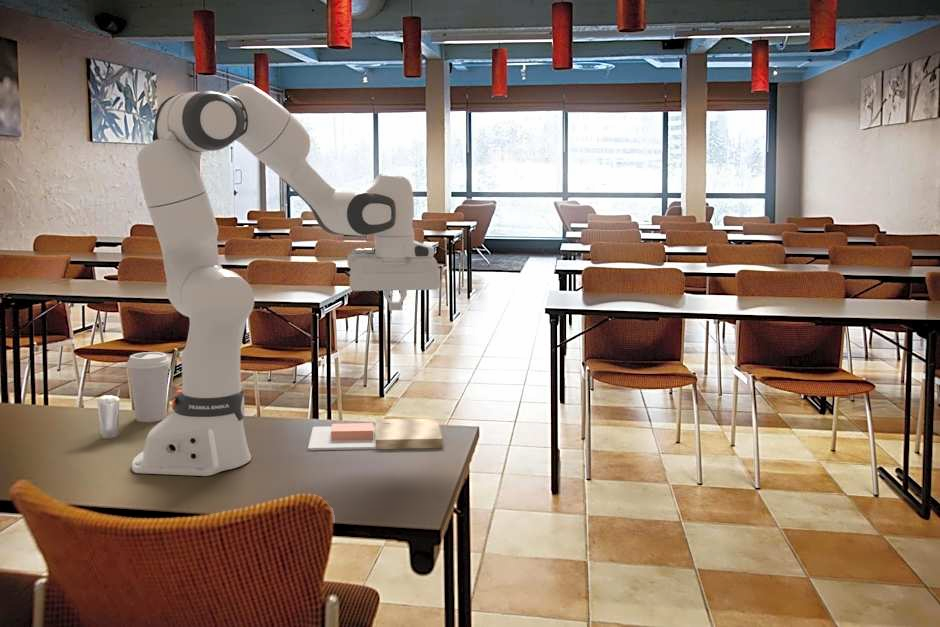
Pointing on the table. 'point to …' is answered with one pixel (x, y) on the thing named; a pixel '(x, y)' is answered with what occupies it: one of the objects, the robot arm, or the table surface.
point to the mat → (337, 441)
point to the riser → (408, 433)
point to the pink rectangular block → (352, 431)
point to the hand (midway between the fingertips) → (395, 310)
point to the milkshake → (108, 415)
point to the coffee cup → (149, 385)
